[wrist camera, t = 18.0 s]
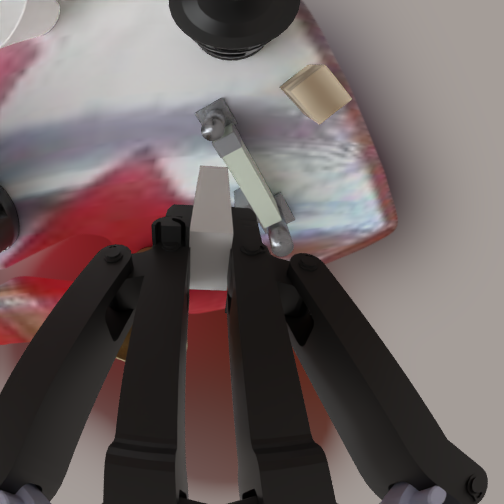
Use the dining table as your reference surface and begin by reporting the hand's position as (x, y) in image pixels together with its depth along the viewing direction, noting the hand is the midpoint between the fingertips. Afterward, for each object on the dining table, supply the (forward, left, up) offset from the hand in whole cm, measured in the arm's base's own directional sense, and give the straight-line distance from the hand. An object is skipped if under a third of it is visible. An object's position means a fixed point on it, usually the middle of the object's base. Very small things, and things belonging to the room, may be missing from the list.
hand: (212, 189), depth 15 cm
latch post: (0, +1, -23) cm, 23 cm away
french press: (+12, +4, -23) cm, 26 cm away
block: (+9, -8, -23) cm, 26 cm away
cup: (+7, +32, -23) cm, 40 cm away
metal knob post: (-9, -11, -23) cm, 27 cm away
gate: (-5, -6, -22) cm, 23 cm away
